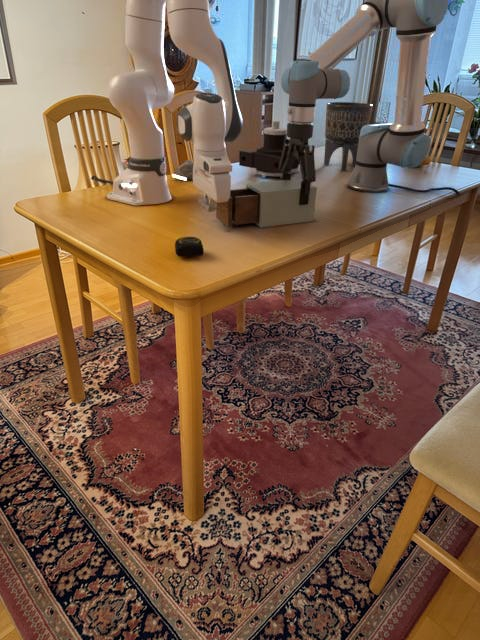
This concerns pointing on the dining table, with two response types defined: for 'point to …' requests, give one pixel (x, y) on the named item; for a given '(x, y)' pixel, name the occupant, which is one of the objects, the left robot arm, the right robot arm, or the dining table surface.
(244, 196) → the drawer
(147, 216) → the dining table surface
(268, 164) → the mechanical component
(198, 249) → the tape measure
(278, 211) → the cabinet
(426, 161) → the toy
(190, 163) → the rock
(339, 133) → the planter
